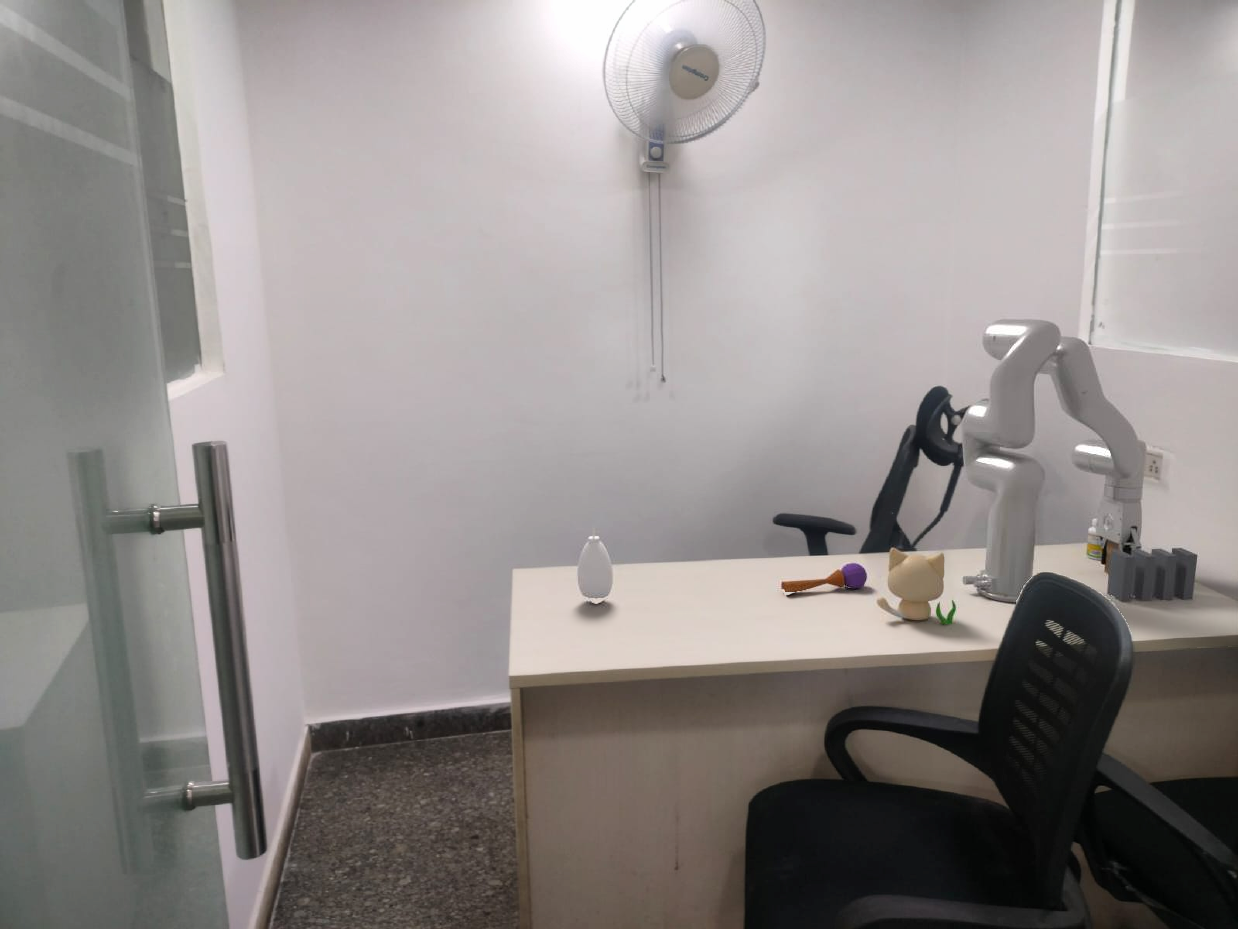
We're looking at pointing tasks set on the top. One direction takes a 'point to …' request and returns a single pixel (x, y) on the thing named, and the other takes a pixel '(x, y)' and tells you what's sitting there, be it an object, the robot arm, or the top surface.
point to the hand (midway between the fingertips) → (1115, 567)
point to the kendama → (832, 579)
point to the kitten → (916, 585)
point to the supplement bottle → (1094, 543)
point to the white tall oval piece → (595, 569)
